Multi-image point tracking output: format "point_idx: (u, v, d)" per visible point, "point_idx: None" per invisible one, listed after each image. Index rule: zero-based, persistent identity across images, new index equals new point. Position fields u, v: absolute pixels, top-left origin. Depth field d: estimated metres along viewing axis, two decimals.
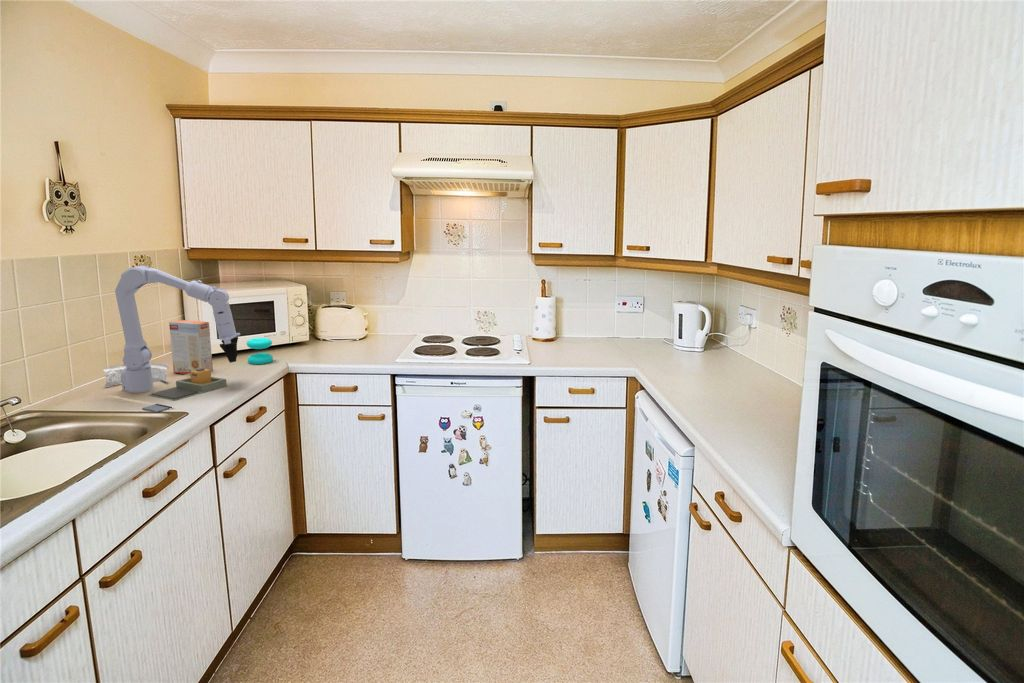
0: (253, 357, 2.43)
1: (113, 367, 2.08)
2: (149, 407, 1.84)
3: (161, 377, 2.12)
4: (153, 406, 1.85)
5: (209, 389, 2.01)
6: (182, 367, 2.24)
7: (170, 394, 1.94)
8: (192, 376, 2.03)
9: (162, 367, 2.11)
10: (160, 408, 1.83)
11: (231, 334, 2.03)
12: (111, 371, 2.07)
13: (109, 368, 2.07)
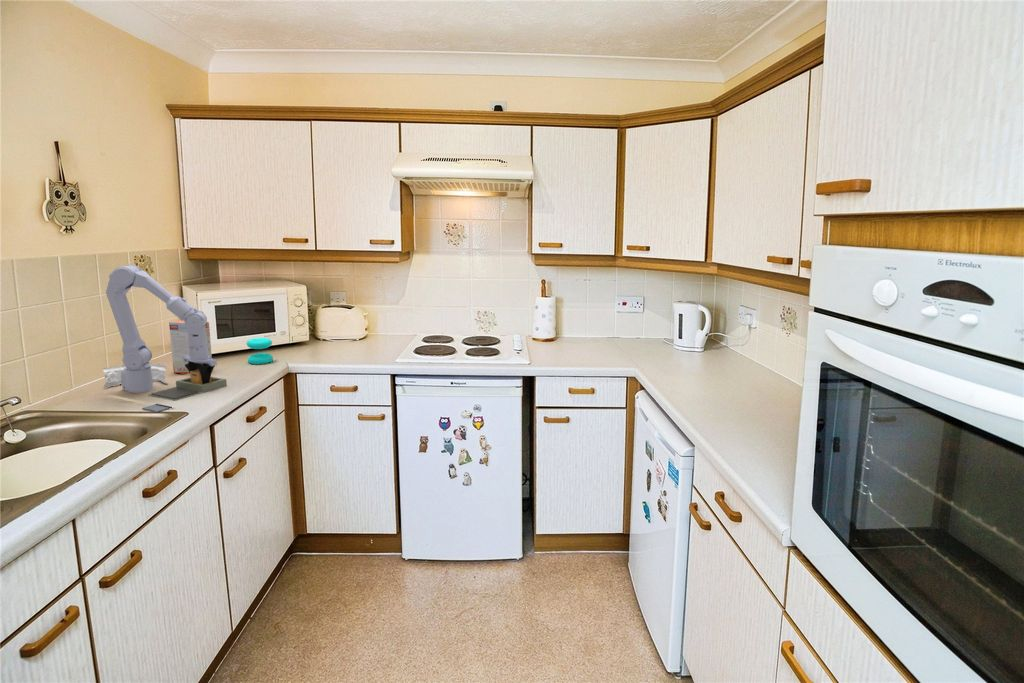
0: (253, 357, 2.43)
1: (113, 367, 2.07)
2: (149, 407, 1.84)
3: (160, 378, 2.10)
4: (153, 406, 1.85)
5: (209, 389, 2.01)
6: (182, 367, 2.24)
7: (170, 394, 1.94)
8: (192, 376, 2.03)
9: (161, 368, 2.10)
10: (160, 408, 1.83)
11: (207, 356, 2.04)
12: (111, 371, 2.06)
13: (109, 368, 2.06)
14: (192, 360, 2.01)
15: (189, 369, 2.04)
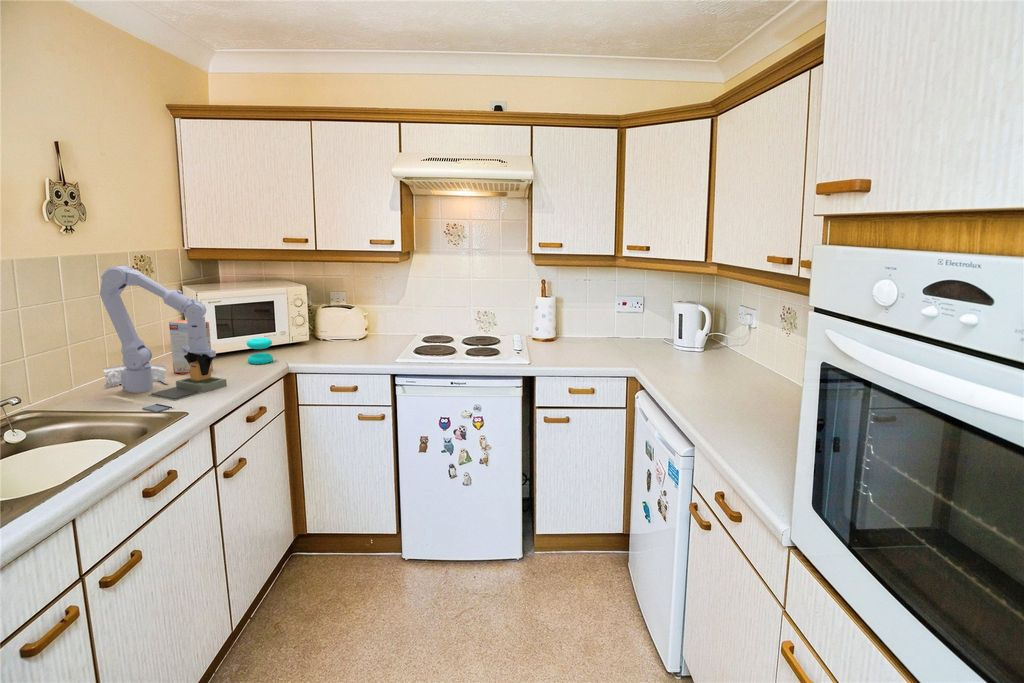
0: (253, 357, 2.43)
1: (113, 367, 2.07)
2: (149, 407, 1.84)
3: (160, 378, 2.10)
4: (153, 406, 1.85)
5: (209, 389, 2.01)
6: (182, 367, 2.24)
7: (170, 394, 1.94)
8: (191, 367, 2.03)
9: (161, 368, 2.10)
10: (160, 408, 1.83)
11: (206, 347, 2.03)
12: (111, 371, 2.06)
13: (109, 368, 2.06)
14: (191, 351, 2.00)
15: (188, 360, 2.03)
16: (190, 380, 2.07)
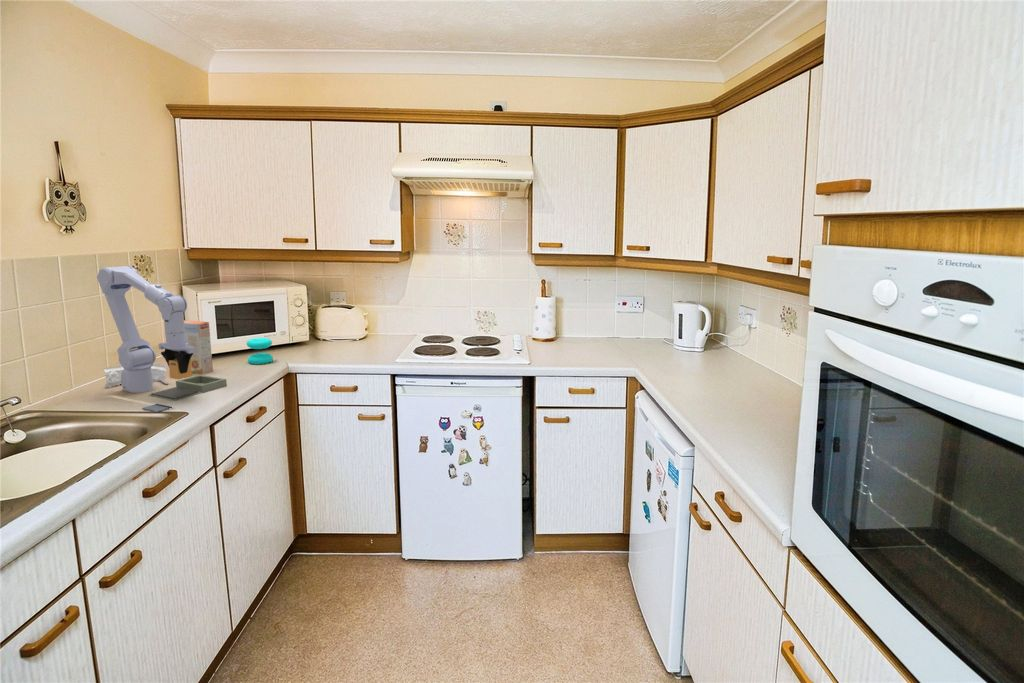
0: (253, 357, 2.43)
1: (114, 367, 2.07)
2: (149, 407, 1.84)
3: (161, 378, 2.10)
4: (153, 406, 1.85)
5: (209, 389, 2.01)
6: None
7: (170, 394, 1.94)
8: (171, 365, 1.91)
9: (161, 368, 2.10)
10: (160, 408, 1.83)
11: (185, 344, 1.91)
12: (112, 371, 2.06)
13: (110, 368, 2.06)
14: (168, 347, 1.88)
15: (165, 357, 1.91)
16: (190, 380, 2.07)
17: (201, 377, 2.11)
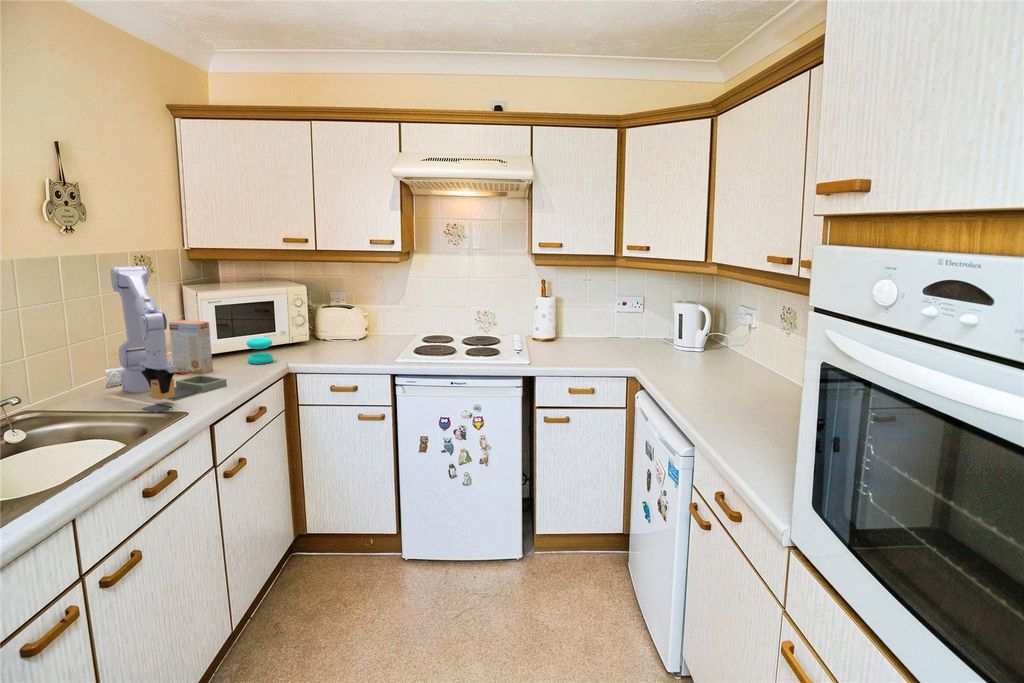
0: (253, 357, 2.43)
1: (115, 367, 2.08)
2: (149, 407, 1.84)
3: None
4: (153, 406, 1.85)
5: (209, 389, 2.01)
6: (182, 367, 2.24)
7: None
8: (152, 385, 1.83)
9: None
10: (160, 408, 1.83)
11: (166, 362, 1.83)
12: (113, 371, 2.07)
13: (111, 368, 2.07)
14: (149, 366, 1.80)
15: (146, 376, 1.83)
16: (190, 380, 2.07)
17: (201, 377, 2.11)
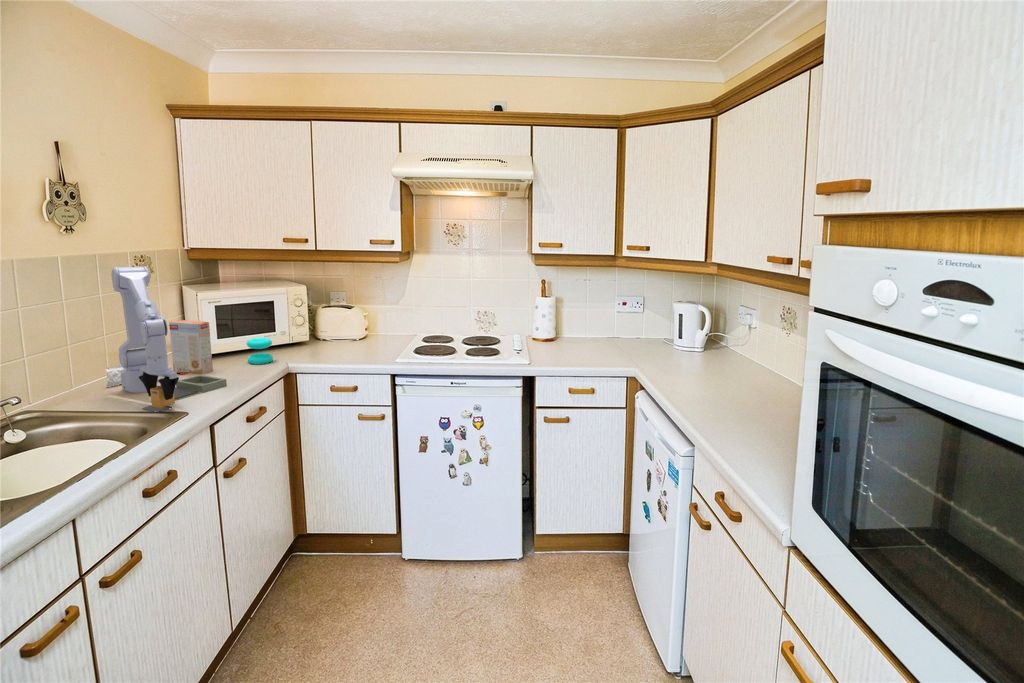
0: (253, 357, 2.43)
1: (116, 367, 2.08)
2: (149, 407, 1.84)
3: (161, 378, 2.10)
4: None
5: (209, 389, 2.01)
6: (182, 367, 2.24)
7: None
8: (152, 394, 1.83)
9: None
10: None
11: (167, 368, 1.83)
12: (114, 371, 2.07)
13: (111, 368, 2.07)
14: (149, 372, 1.80)
15: (143, 381, 1.84)
16: (190, 380, 2.07)
17: (201, 377, 2.11)
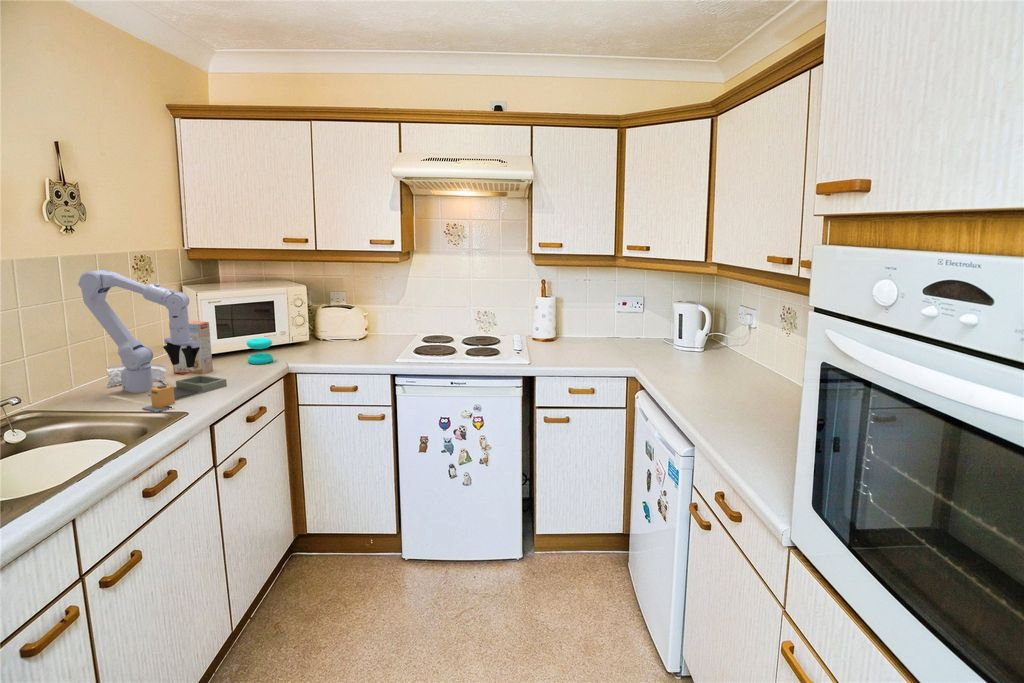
0: (253, 357, 2.43)
1: (117, 367, 2.08)
2: (149, 407, 1.84)
3: (162, 378, 2.10)
4: None
5: (209, 389, 2.01)
6: (182, 367, 2.24)
7: None
8: (152, 394, 1.83)
9: (162, 368, 2.10)
10: None
11: (189, 339, 2.00)
12: (115, 370, 2.07)
13: (113, 367, 2.07)
14: (173, 342, 1.97)
15: (167, 351, 2.00)
16: (190, 380, 2.07)
17: (201, 377, 2.11)
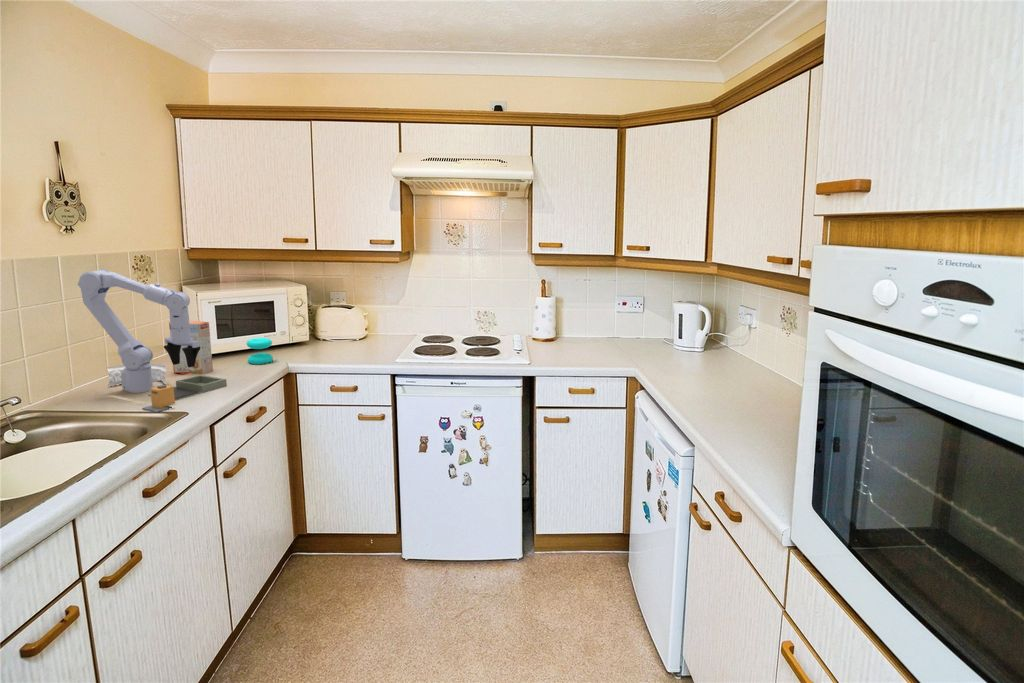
0: (253, 357, 2.43)
1: (118, 367, 2.08)
2: (149, 407, 1.84)
3: (162, 379, 2.10)
4: None
5: (209, 389, 2.01)
6: (182, 367, 2.24)
7: None
8: (152, 394, 1.83)
9: (163, 369, 2.09)
10: None
11: (190, 338, 2.00)
12: (115, 370, 2.07)
13: (113, 367, 2.07)
14: (174, 342, 1.97)
15: (168, 351, 2.00)
16: (190, 380, 2.07)
17: (201, 377, 2.11)
